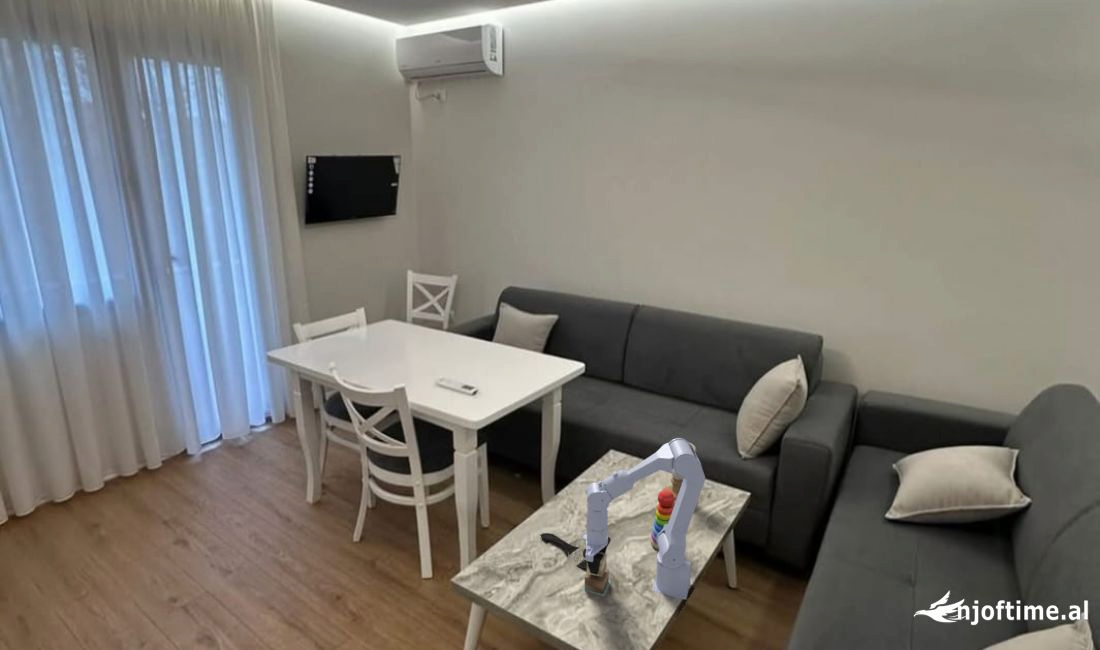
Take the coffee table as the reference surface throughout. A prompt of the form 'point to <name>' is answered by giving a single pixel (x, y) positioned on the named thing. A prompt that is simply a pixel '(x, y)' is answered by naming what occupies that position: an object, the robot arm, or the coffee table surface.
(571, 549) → the hairbrush
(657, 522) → the stacking toy
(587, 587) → the walnut block
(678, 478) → the candle holder
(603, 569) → the birch block
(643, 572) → the coffee table surface
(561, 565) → the coffee table surface
